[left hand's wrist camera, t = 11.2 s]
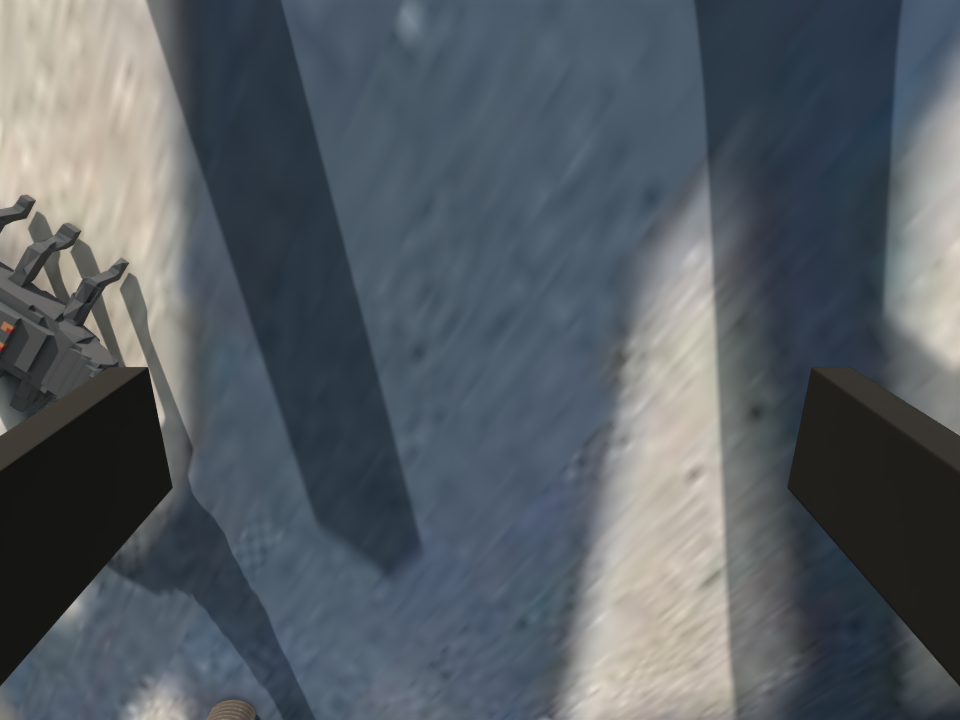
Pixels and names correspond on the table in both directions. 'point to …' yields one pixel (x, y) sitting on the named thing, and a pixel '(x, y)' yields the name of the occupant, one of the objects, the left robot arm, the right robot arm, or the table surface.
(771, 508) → the table surface
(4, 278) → the toy
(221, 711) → the light bulb
